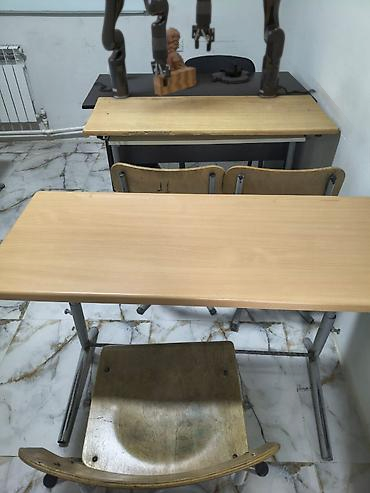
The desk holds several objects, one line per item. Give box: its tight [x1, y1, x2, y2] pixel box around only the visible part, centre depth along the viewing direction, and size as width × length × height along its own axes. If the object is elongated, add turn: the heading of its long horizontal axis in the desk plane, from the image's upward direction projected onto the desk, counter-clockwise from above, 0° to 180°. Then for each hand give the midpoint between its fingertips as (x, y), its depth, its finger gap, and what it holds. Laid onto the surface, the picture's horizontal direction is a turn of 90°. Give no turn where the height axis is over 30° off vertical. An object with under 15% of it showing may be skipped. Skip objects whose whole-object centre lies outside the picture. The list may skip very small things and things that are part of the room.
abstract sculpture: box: [211, 60, 250, 85], centre depth 224 cm, size 25×9×20 cm
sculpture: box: [166, 27, 198, 83], centre depth 214 cm, size 27×24×30 cm
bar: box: [153, 66, 197, 97], centre depth 184 cm, size 24×5×8 cm, turn 131°
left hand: (162, 85), depth 180 cm, fingers closed on bar, 5 cm apart
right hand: (202, 50), depth 181 cm, fingers open, 8 cm apart
